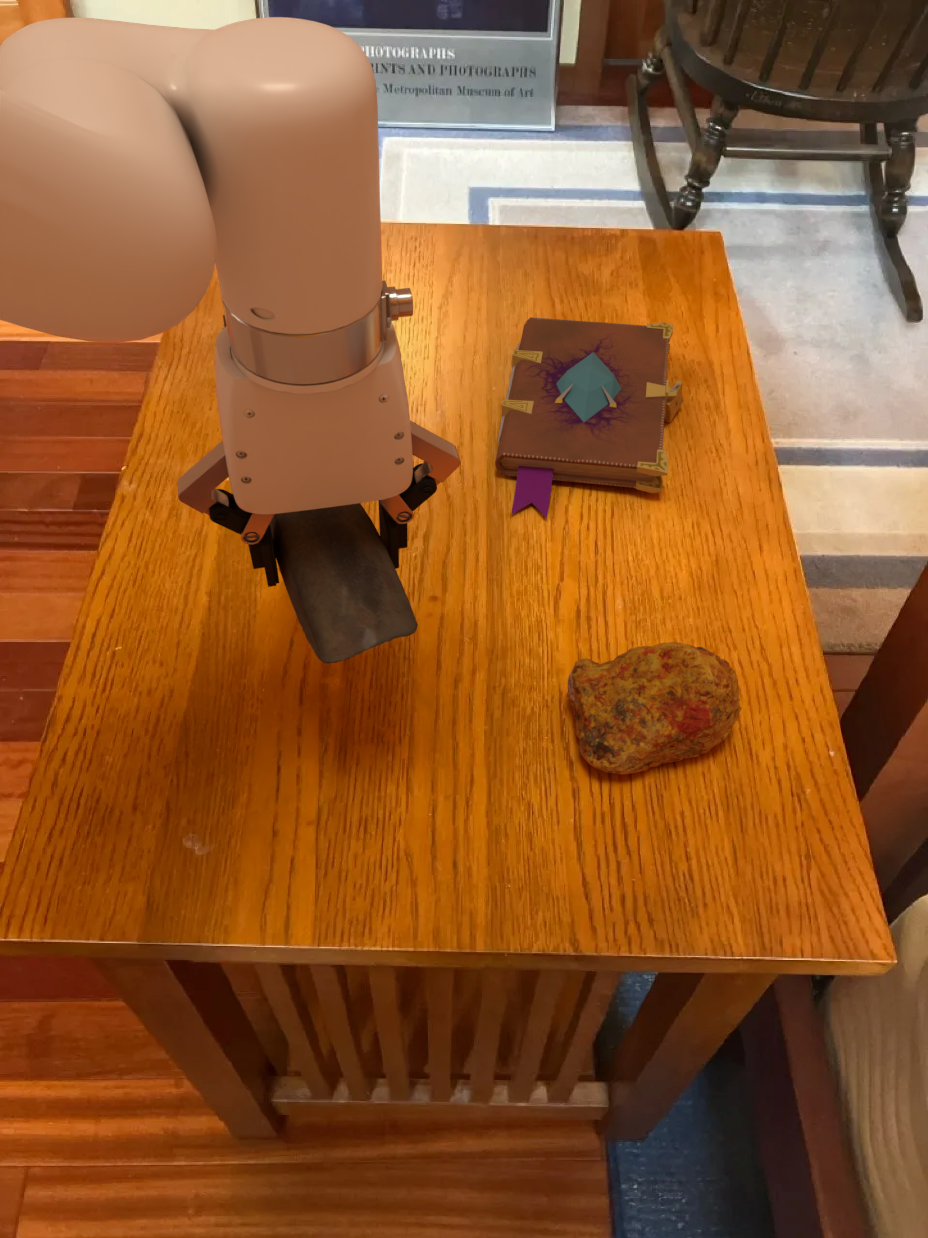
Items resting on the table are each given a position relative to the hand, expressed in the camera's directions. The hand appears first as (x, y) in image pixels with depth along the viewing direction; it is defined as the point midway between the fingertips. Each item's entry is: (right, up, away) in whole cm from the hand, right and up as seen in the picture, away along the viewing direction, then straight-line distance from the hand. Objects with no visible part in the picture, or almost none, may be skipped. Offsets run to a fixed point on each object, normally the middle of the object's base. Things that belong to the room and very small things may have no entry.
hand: (330, 559), depth 59 cm
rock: (+22, -11, +9) cm, 26 cm away
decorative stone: (0, -1, +1) cm, 1 cm away
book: (+20, +14, +27) cm, 36 cm away
